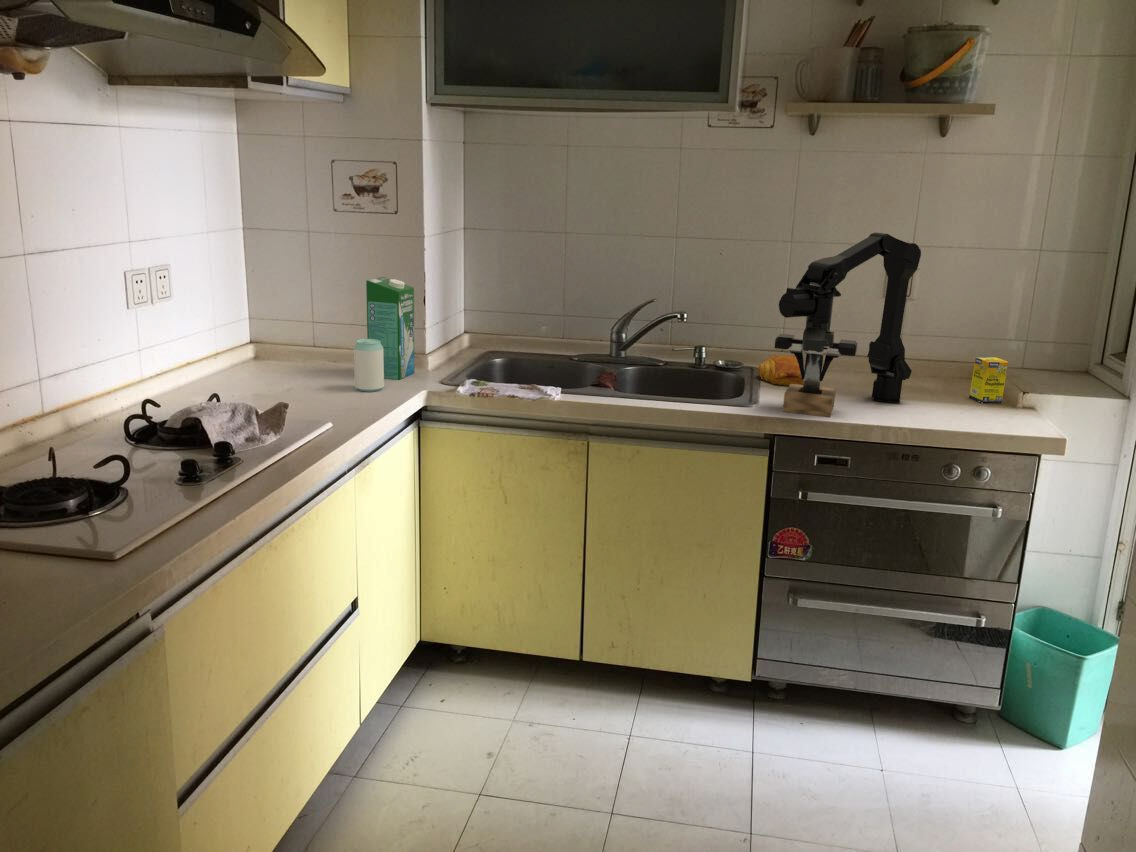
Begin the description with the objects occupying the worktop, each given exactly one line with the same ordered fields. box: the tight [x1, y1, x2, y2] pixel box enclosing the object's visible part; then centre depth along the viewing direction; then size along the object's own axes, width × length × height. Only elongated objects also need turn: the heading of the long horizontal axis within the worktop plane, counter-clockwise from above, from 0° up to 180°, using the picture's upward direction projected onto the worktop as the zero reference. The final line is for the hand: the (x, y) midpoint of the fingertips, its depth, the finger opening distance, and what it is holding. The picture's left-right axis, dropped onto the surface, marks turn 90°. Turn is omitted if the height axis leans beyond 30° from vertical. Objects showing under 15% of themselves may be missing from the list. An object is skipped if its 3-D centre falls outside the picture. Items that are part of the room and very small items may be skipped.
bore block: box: [782, 384, 837, 418], centre depth 232 cm, size 11×11×4 cm
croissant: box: [757, 354, 806, 387], centre depth 261 cm, size 14×16×8 cm
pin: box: [802, 351, 824, 394], centre depth 230 cm, size 4×4×10 cm
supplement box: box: [968, 356, 1010, 404], centre depth 246 cm, size 6×6×11 cm
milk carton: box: [365, 276, 415, 381], centre depth 247 cm, size 9×9×25 cm
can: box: [353, 338, 385, 393], centre depth 234 cm, size 7×7×12 cm
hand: (812, 379), depth 231 cm, fingers closed on pin, 4 cm apart
